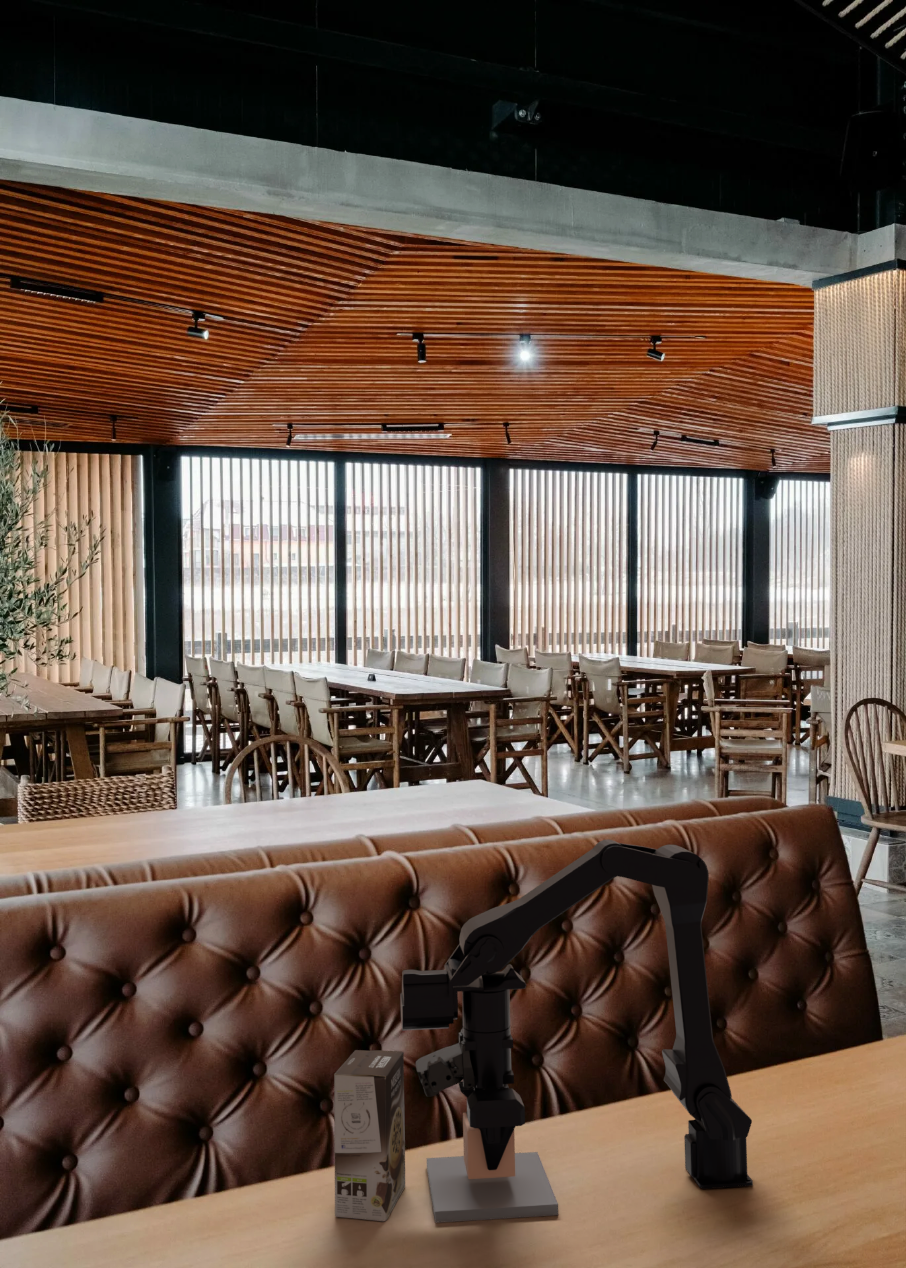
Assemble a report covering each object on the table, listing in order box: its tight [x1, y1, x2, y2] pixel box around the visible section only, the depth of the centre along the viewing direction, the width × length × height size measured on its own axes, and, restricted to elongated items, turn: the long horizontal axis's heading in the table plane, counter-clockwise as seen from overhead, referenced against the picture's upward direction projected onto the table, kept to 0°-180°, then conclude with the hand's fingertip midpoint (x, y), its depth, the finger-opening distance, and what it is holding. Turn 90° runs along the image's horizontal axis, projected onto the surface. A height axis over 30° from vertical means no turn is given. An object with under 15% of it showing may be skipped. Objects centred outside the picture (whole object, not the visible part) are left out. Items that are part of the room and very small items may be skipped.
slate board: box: [426, 1151, 559, 1224], centre depth 130 cm, size 14×14×1 cm
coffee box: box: [333, 1049, 406, 1222], centre depth 128 cm, size 9×6×16 cm
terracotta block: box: [462, 1112, 516, 1179], centre depth 130 cm, size 6×6×6 cm
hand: (489, 1158), depth 130 cm, fingers closed on terracotta block, 5 cm apart
